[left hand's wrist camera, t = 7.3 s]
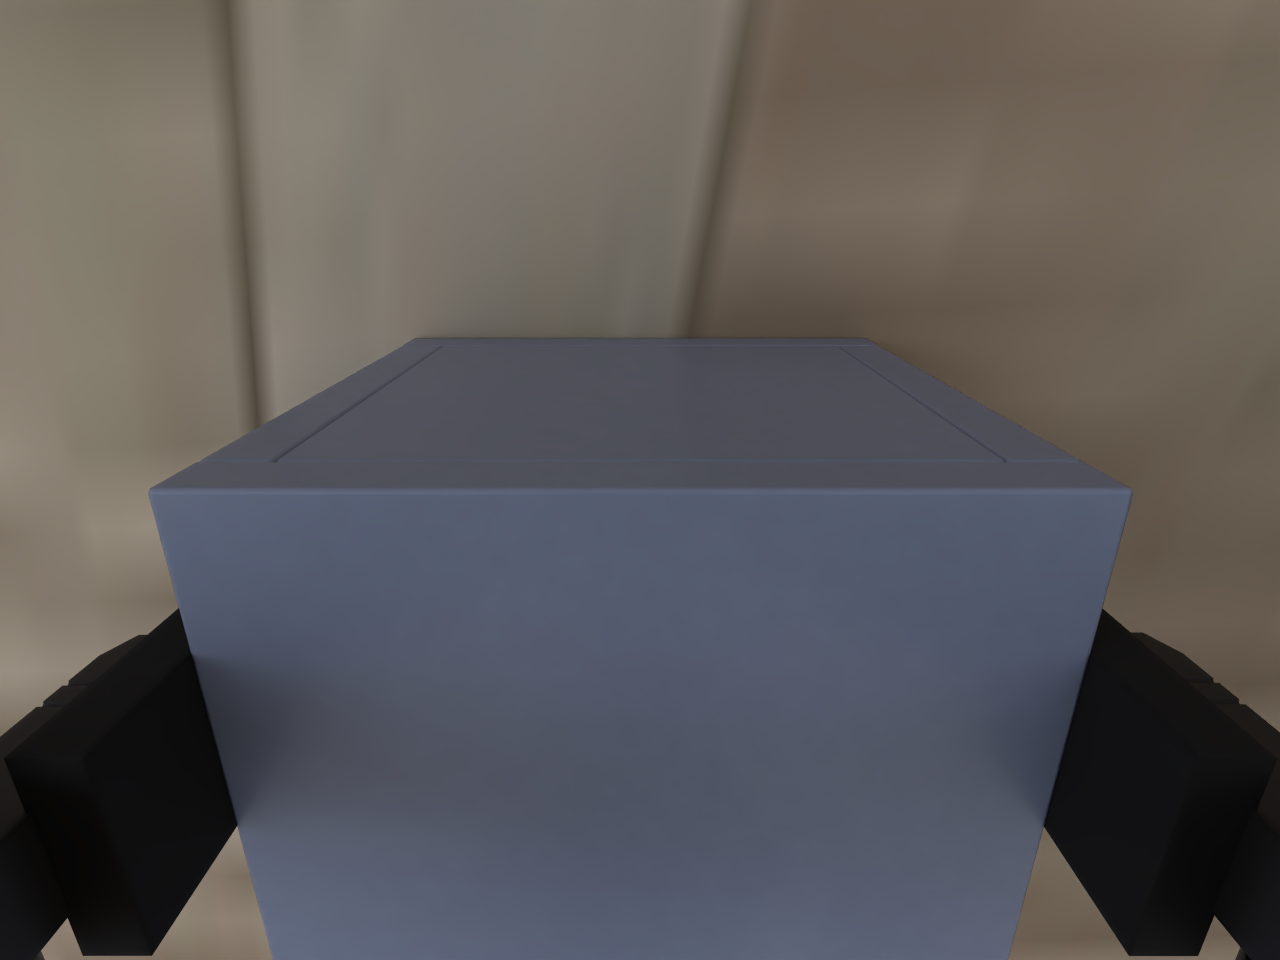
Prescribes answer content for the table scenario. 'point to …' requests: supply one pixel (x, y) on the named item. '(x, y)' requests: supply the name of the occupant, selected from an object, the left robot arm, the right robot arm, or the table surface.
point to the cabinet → (640, 652)
